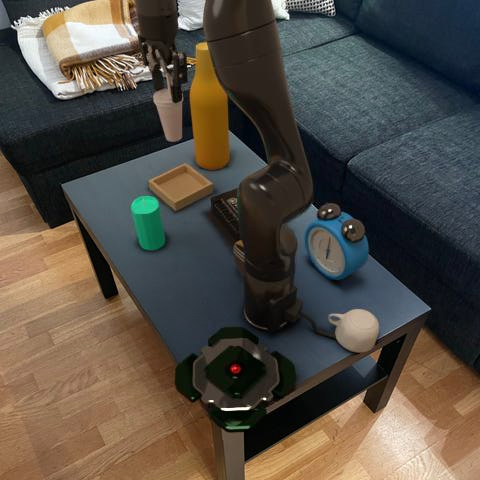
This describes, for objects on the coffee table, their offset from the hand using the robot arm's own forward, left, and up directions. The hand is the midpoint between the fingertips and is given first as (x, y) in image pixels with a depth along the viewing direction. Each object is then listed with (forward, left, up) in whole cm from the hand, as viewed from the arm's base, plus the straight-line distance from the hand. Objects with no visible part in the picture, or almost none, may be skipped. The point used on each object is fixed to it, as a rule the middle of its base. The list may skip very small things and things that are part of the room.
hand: (168, 95), depth 101 cm
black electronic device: (-22, -4, -25) cm, 33 cm away
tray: (0, 0, -25) cm, 25 cm away
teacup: (-58, +1, -19) cm, 61 cm away
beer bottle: (+5, -14, -25) cm, 29 cm away
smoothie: (0, 0, -10) cm, 10 cm away
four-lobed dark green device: (-52, +25, -25) cm, 63 cm away
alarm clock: (-44, -9, -25) cm, 51 cm away
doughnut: (-34, +6, -25) cm, 42 cm away
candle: (-11, +16, -25) cm, 31 cm away
